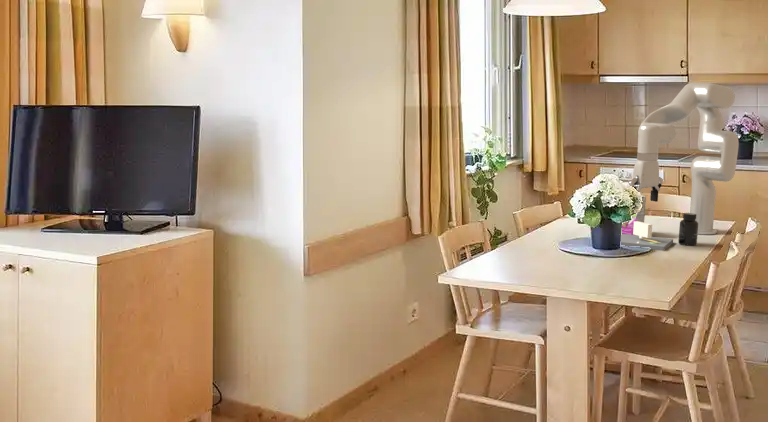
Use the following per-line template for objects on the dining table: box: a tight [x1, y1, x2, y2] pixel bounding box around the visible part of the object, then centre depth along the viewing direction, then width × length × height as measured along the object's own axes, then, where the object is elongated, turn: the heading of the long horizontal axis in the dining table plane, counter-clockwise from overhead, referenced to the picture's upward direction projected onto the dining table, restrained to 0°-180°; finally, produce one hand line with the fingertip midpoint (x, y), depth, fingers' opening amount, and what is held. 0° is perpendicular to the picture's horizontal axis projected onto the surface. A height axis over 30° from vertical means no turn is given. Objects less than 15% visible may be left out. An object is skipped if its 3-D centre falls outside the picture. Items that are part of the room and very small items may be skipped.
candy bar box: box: [622, 195, 647, 235], centre depth 362 cm, size 11×5×16 cm, turn 34°
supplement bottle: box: [678, 212, 699, 247], centre depth 344 cm, size 7×7×12 cm
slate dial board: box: [621, 234, 674, 251], centre depth 344 cm, size 18×20×2 cm
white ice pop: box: [633, 221, 658, 243], centre depth 341 cm, size 12×2×6 cm, turn 26°
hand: (645, 202), depth 342 cm, fingers open, 9 cm apart
